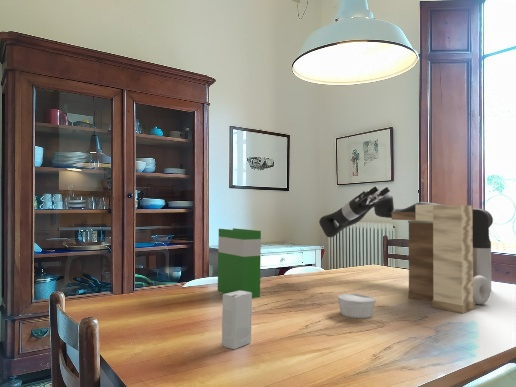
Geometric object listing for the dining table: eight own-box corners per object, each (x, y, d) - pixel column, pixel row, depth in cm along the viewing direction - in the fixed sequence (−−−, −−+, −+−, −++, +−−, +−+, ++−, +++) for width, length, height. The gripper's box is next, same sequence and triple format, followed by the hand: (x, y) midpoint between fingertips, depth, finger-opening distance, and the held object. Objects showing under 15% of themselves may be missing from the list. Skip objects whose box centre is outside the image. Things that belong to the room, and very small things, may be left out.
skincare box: (238, 339, 95) (239, 289, 96) (252, 343, 93) (253, 292, 93) (220, 346, 91) (221, 293, 91) (234, 350, 88) (235, 296, 88)
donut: (475, 307, 131) (475, 277, 131) (465, 305, 134) (465, 275, 134) (492, 304, 136) (492, 275, 136) (482, 301, 139) (482, 273, 139)
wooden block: (444, 303, 136) (444, 205, 138) (474, 308, 129) (473, 205, 130) (432, 307, 130) (431, 205, 131) (462, 313, 123) (461, 205, 124)
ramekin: (376, 312, 123) (376, 295, 124) (374, 321, 113) (374, 303, 113) (340, 308, 127) (340, 292, 127) (335, 317, 117) (335, 299, 117)
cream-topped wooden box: (412, 291, 154) (412, 219, 156) (450, 295, 148) (450, 220, 149) (408, 297, 144) (408, 220, 145) (448, 302, 137) (448, 221, 138)
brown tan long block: (398, 219, 160) (398, 204, 160) (442, 220, 147) (442, 204, 147) (389, 219, 156) (389, 204, 156) (433, 221, 142) (433, 204, 142)
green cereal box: (217, 290, 152) (218, 228, 153) (233, 288, 156) (234, 228, 157) (243, 299, 137) (244, 231, 138) (259, 297, 142) (260, 230, 143)
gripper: (341, 200, 169) (369, 179, 159) (360, 201, 178) (388, 181, 168) (348, 215, 166) (377, 195, 156) (367, 215, 175) (396, 196, 165)
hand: (383, 188), depth 162 cm, fingers open, 8 cm apart
